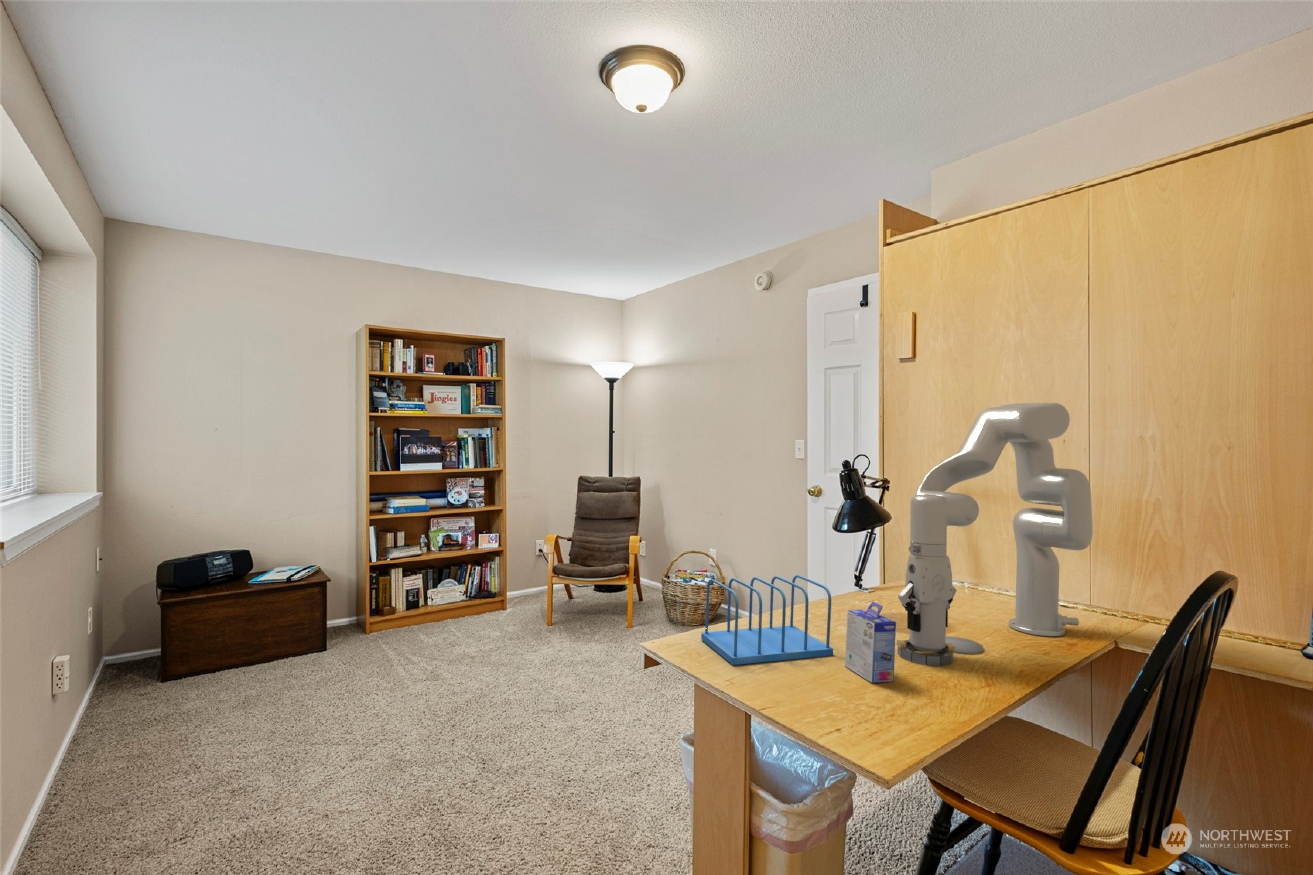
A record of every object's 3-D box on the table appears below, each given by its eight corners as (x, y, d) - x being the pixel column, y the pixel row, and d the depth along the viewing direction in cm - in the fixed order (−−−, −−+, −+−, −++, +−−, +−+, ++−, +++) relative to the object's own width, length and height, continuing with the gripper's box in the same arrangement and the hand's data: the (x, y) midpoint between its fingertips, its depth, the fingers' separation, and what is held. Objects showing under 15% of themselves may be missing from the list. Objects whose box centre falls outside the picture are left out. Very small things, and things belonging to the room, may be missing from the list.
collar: (944, 649, 144) (944, 637, 144) (962, 667, 133) (962, 653, 133) (891, 646, 146) (891, 634, 146) (904, 663, 135) (905, 650, 135)
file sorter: (732, 667, 131) (734, 594, 131) (700, 640, 147) (702, 576, 147) (833, 656, 139) (835, 587, 139) (792, 632, 155) (794, 571, 155)
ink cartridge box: (896, 682, 124) (898, 609, 124) (872, 684, 123) (874, 611, 123) (866, 664, 134) (868, 597, 134) (843, 666, 132) (845, 598, 132)
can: (951, 653, 136) (952, 598, 136) (917, 652, 136) (918, 598, 136) (936, 641, 144) (936, 589, 143) (903, 641, 144) (904, 589, 143)
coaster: (972, 640, 152) (972, 637, 152) (991, 655, 141) (991, 653, 141) (925, 637, 153) (925, 635, 153) (940, 652, 142) (940, 650, 142)
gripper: (911, 555, 133) (911, 638, 133) (970, 549, 140) (969, 628, 140) (886, 549, 140) (885, 628, 140) (942, 544, 146) (942, 618, 147)
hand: (927, 627), depth 140 cm, fingers closed on can, 7 cm apart
